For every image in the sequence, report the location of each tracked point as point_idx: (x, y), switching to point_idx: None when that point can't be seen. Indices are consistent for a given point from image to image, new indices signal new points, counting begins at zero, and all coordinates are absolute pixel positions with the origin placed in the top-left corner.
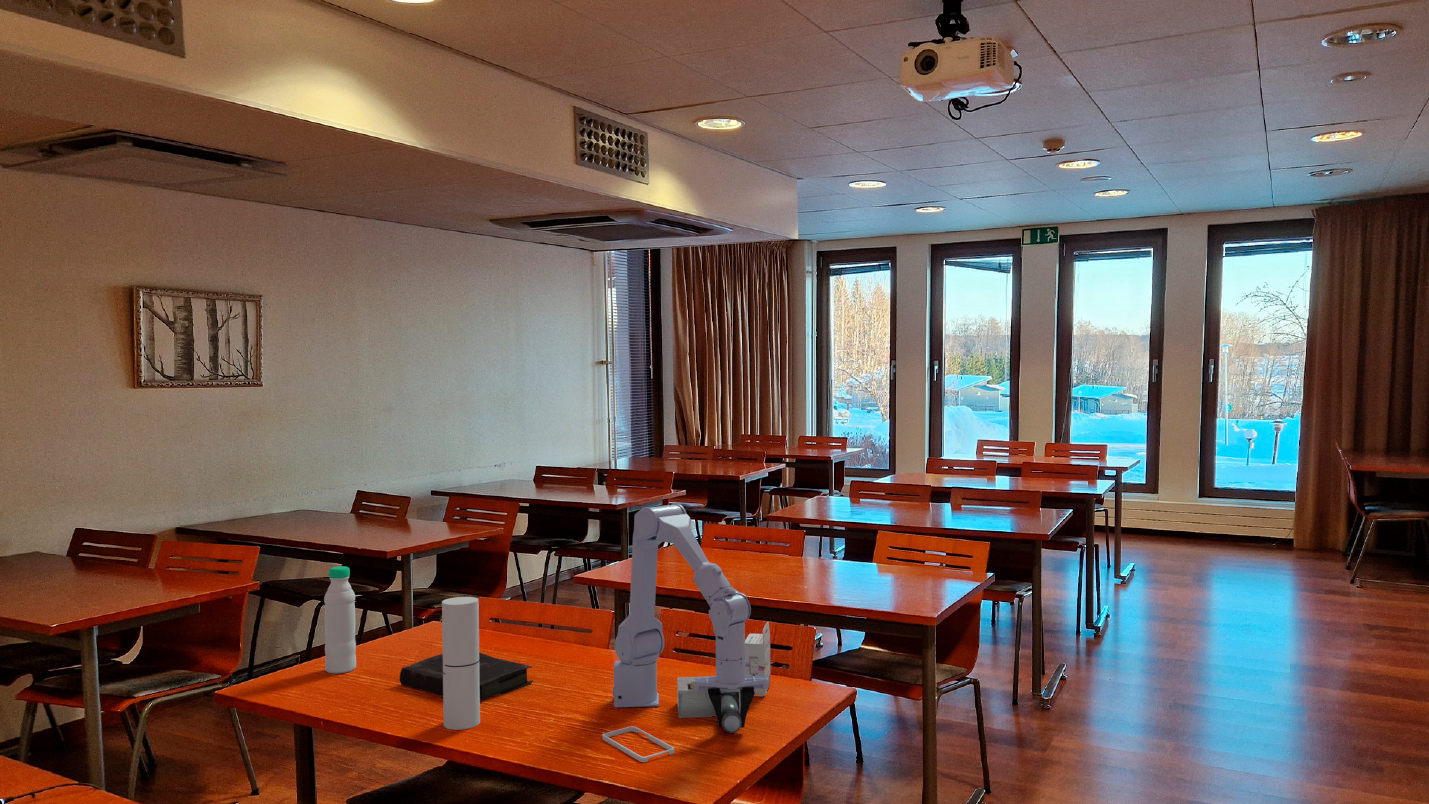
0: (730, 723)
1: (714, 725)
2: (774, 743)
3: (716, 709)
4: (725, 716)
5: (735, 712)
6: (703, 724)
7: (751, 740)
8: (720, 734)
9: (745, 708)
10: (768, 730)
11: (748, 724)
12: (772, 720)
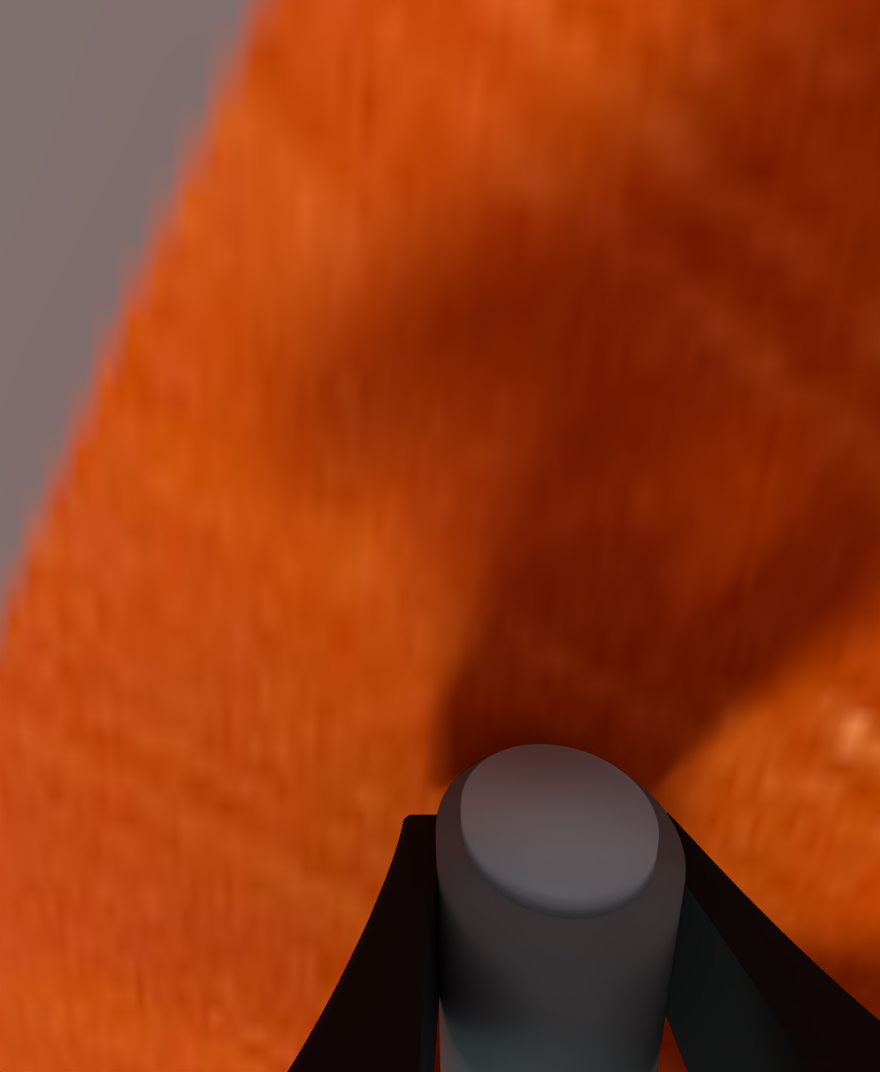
0: (577, 809)
1: None
2: (126, 546)
3: (870, 1034)
4: (667, 904)
5: (519, 986)
6: None
7: (352, 635)
8: None
9: (362, 1039)
10: (192, 835)
11: None
12: (164, 1008)
